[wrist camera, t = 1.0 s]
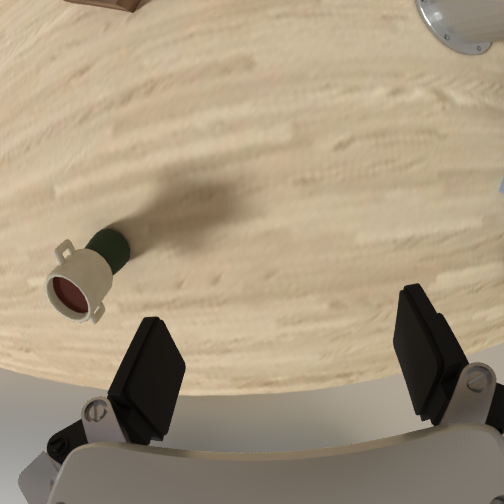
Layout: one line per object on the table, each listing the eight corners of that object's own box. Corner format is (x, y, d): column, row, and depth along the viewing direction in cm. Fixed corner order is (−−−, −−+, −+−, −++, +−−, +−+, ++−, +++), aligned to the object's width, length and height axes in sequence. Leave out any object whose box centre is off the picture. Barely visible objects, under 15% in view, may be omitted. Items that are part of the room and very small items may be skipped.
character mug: (81, 218, 38) (27, 263, 27) (118, 206, 37) (64, 252, 25) (109, 280, 43) (70, 335, 32) (146, 274, 42) (110, 334, 30)
